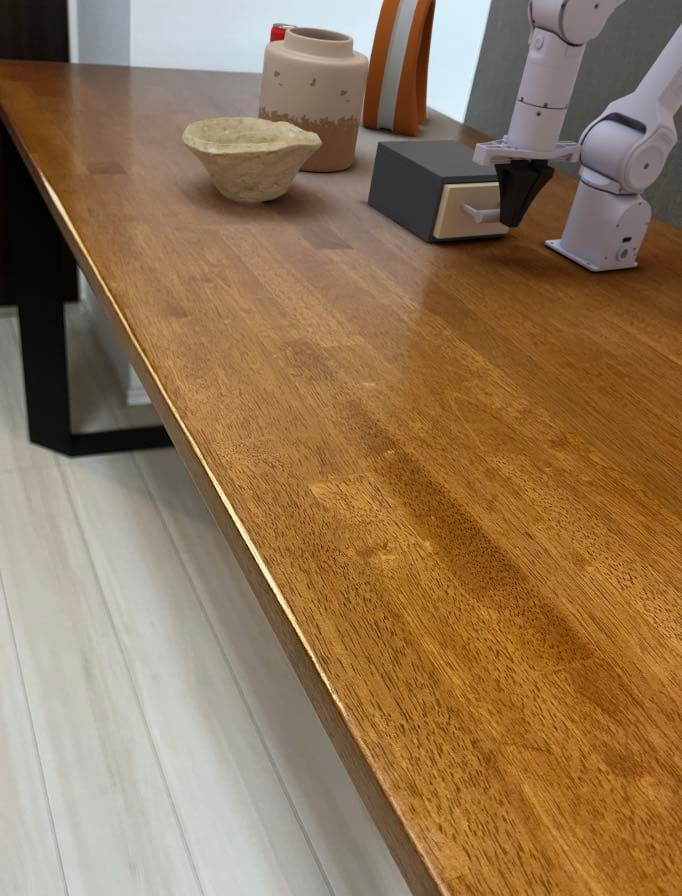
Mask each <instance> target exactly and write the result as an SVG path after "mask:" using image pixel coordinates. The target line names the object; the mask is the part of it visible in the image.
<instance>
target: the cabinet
mask: <svg viewBox="0 0 682 896" xmlns="http://www.w3.org/2000/svg"><path fill="white" fill-rule="evenodd" d="M474 152H475V149H473V148H471V147H468V146H466V145H464V144H462V143H460V142H458V141H457V140H454V139H436V140H435V139H431V140H429V139H427V140H389V141H388V140H387V141H385V140H384V141H382V140H381V141H378V142H377V146H376V151H375V157H374V162H373V169H372V174H371V179H370V186H369V191H368V197H367V204H368V205H369V206H371V207H372V208H374V209H375V210H377V211H379V213H381V214H383V215H384V216H386V217H387V218H389V219H390V220H391V221H393V222H395V223H396V224H398V225H400V226H401V227H403V228H404V229H406V230H407V231H408V232H410V233H412V234H414V235H415V236H417V237H418V238H420V239H421V240H422V241H424V242H426V243H428V244H429V243H438V242H439V243H440V242H450V241H452V242H453V241H462V240H464V241H465V240H474V239H489V238H499V237H504V235H505V233H503V234H490V235H478V236H466V237H453V238H441V239H438V238H436V237H435V236H433V232H434V228H435V224H436V219H437V215H438V210H439V206H440V202H441V197H442V193H443V189H444V185H445V183H461V182H482V181H498V178H497V173H496V170H495V167H494V165H495V164H490V165H489V166H481V165H480V164H477V163H475V162H473V161H472V160H473V156H474Z"/></svg>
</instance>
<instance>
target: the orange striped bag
mask: <svg viewBox="0 0 682 896" xmlns="http://www.w3.org/2000/svg"><path fill="white" fill-rule="evenodd" d="M436 4H437V0H382V3H381V7H380V12H379V15H378V19H377V23H376V26H375V32H374V37H373V43H372V47H371V52H370V56H369V67H368V74H367V80H366V86H365V93H364V99H363V105H362V127H364V128H367V129H373V130H379V129H380V128H383V129H386V130H387V129H388V130H390V131H391V132H392V133H394V134H400V135H404V136H411V137H417V136H418V135H419V133H420V126H419V125H424V124H425V122H426V121H427V103H428V102H427V99H428V80H429V79H428V78H429V77H428V76H429V65H430V53H431V46H432V45H431V44H432V36H433V28H434V27H433V26H434V20H435V11H436Z"/></svg>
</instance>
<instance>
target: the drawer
mask: <svg viewBox="0 0 682 896" xmlns="http://www.w3.org/2000/svg"><path fill="white" fill-rule="evenodd" d="M526 217H527V212H526V213H525V215H524V217H523V219H522V220H521V221H524V220H525V219H526ZM509 229H510V228H509V227H507V226H505V225H503V224H502V223H500V190H499V183H498V181H482V182H478V183H467V184H447V183H445V185H444V189H443V193H442V197H441V202H440V206H439V210H438V215H437V219H436V224H435V228H434V232H433V236H435V237H436V238H438V239H441V238H453V237H466V236H478V235H490V234H503V233H504V234H508V232H509Z"/></svg>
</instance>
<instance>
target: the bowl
mask: <svg viewBox="0 0 682 896" xmlns="http://www.w3.org/2000/svg"><path fill="white" fill-rule="evenodd" d="M181 143H182V144H183V145H184V146H185V147H186V148H187V150H188V151H189V152H191V153H192V154H193V155H194V156H195V157H196V158H198V160H199V161H200V163H201V165H202V166H203V167H204V169H205V170H206V171H207V173H208V176H209V177H210V178H211V180H212V182H213V184H214V185H215V187H216V189H217V190H218V192H220V193H221V195H222V196H224V197H225V198H227V199H229V200H231V201H233V202H235V203H238V204H243V205H251V204H259V203H262V202H267V201H273V200H276V199H278V198H279V197H281V196H283V195H285V194H286V193H287V192H288V191H289V190H290V188H291V187H292V185H293V182H294V179H295V177H296V176H297V174H298V173H299V171H300V170H299V169H300V168H301V166H302V165H303V163H304V162H305V161H306V160H307V159H308V158H309V157H310V156H311V155H312V154H313V153H314V152H315V151H316V150H318V149H319V148H320V147H321V145H322V142H321V140H320V138H319V136H318V135H317V134H316V133H313V132H307V131H304V130H302V129H300V128H298V127H297V126H295V125H292V124H290V123H288V122H284V121H279V122H272V121H269V120H264V119H259V118H258V117H253V116H252V117H251V116H234V117H233V116H231V117H229V116H223V117H215V118H207V119H202V120H197V121H194V122H191V123H190V124H188V126H187V127H186V128H185V129H184V132H183V133H182V136H181Z"/></svg>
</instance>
